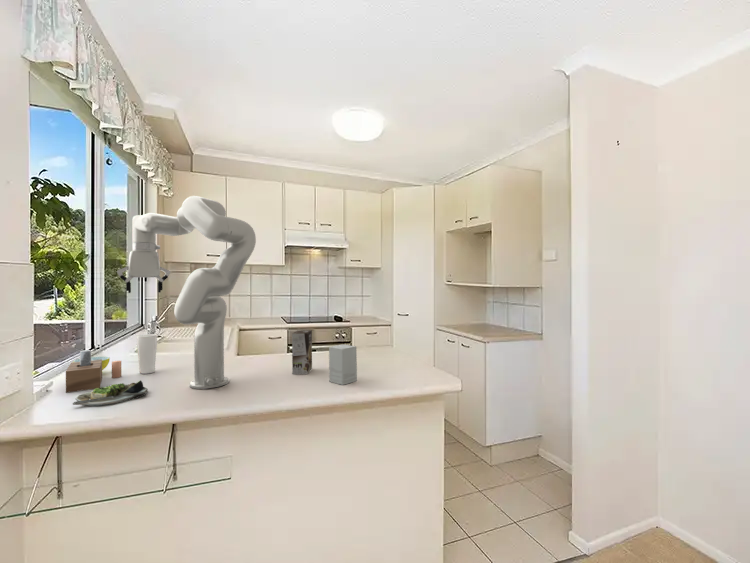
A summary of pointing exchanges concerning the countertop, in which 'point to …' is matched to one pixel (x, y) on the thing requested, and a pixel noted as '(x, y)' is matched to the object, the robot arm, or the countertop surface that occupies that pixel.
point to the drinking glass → (147, 352)
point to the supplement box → (342, 364)
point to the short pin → (116, 369)
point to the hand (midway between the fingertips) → (144, 292)
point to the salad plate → (111, 394)
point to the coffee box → (302, 352)
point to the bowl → (104, 359)
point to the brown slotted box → (83, 376)
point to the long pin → (85, 358)
